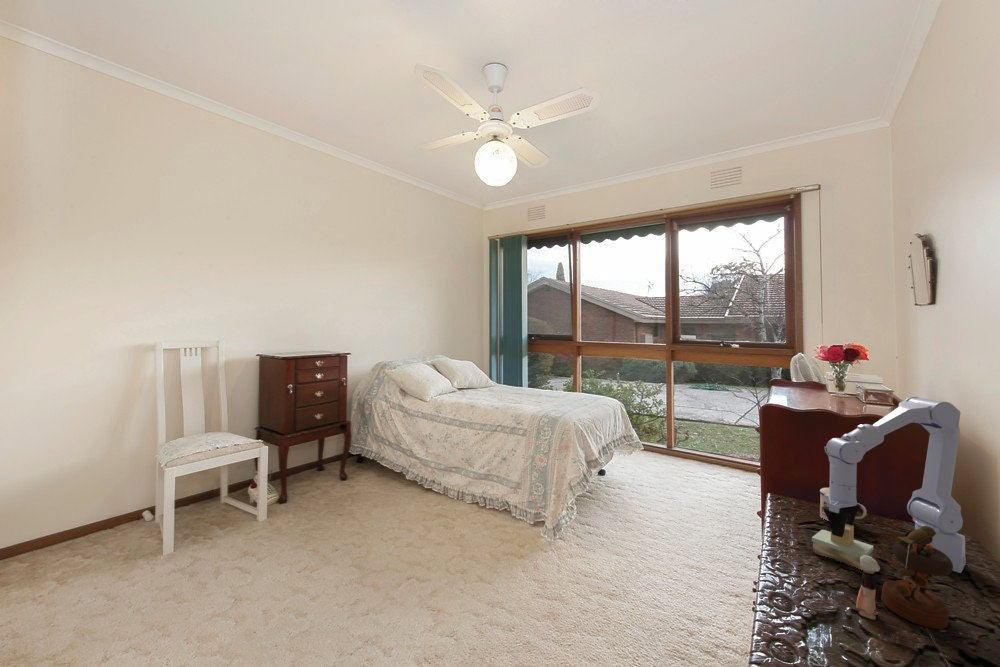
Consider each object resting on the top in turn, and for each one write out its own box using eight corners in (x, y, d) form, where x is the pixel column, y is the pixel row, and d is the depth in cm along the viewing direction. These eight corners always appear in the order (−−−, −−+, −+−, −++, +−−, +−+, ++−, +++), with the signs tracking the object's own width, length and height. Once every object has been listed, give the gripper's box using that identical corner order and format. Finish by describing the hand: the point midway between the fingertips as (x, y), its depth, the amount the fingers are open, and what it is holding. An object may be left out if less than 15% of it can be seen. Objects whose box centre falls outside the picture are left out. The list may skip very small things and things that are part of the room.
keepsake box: (872, 561, 112) (872, 549, 112) (863, 570, 107) (863, 558, 107) (822, 544, 121) (822, 533, 121) (812, 552, 116) (812, 541, 116)
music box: (941, 641, 83) (943, 541, 83) (871, 609, 92) (872, 520, 92) (961, 614, 91) (962, 523, 91) (894, 587, 100) (895, 505, 100)
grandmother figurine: (855, 601, 95) (856, 546, 95) (878, 609, 92) (878, 552, 92) (856, 619, 89) (857, 561, 89) (880, 627, 86) (881, 567, 86)
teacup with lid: (815, 519, 137) (816, 484, 137) (823, 511, 143) (823, 478, 143) (863, 533, 128) (863, 495, 128) (869, 524, 134) (869, 488, 134)
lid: (873, 551, 112) (873, 529, 112) (864, 561, 107) (864, 538, 107) (822, 534, 121) (822, 514, 121) (811, 542, 116) (812, 521, 116)
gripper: (833, 473, 122) (832, 519, 122) (815, 483, 113) (815, 533, 113) (864, 481, 116) (864, 529, 116) (848, 492, 107) (847, 544, 107)
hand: (841, 531), depth 114 cm, fingers open, 7 cm apart
